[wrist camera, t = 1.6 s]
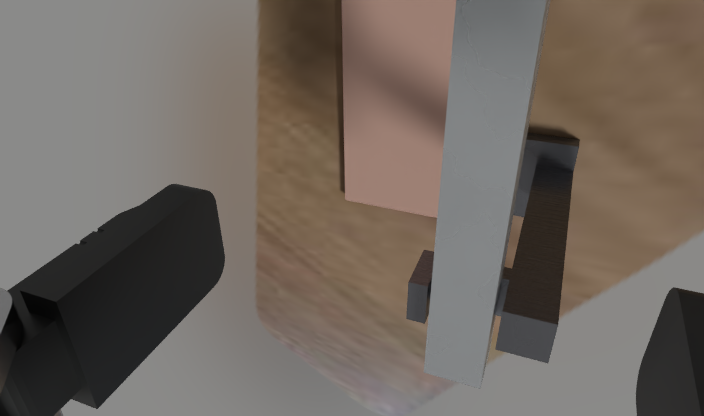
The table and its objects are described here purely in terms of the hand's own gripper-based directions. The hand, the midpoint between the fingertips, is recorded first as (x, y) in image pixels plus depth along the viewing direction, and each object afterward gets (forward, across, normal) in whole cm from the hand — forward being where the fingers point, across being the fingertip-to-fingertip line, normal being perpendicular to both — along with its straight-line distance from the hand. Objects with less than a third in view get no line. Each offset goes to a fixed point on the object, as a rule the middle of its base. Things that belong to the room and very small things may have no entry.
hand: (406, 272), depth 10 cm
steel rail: (+11, 0, 0) cm, 11 cm away
